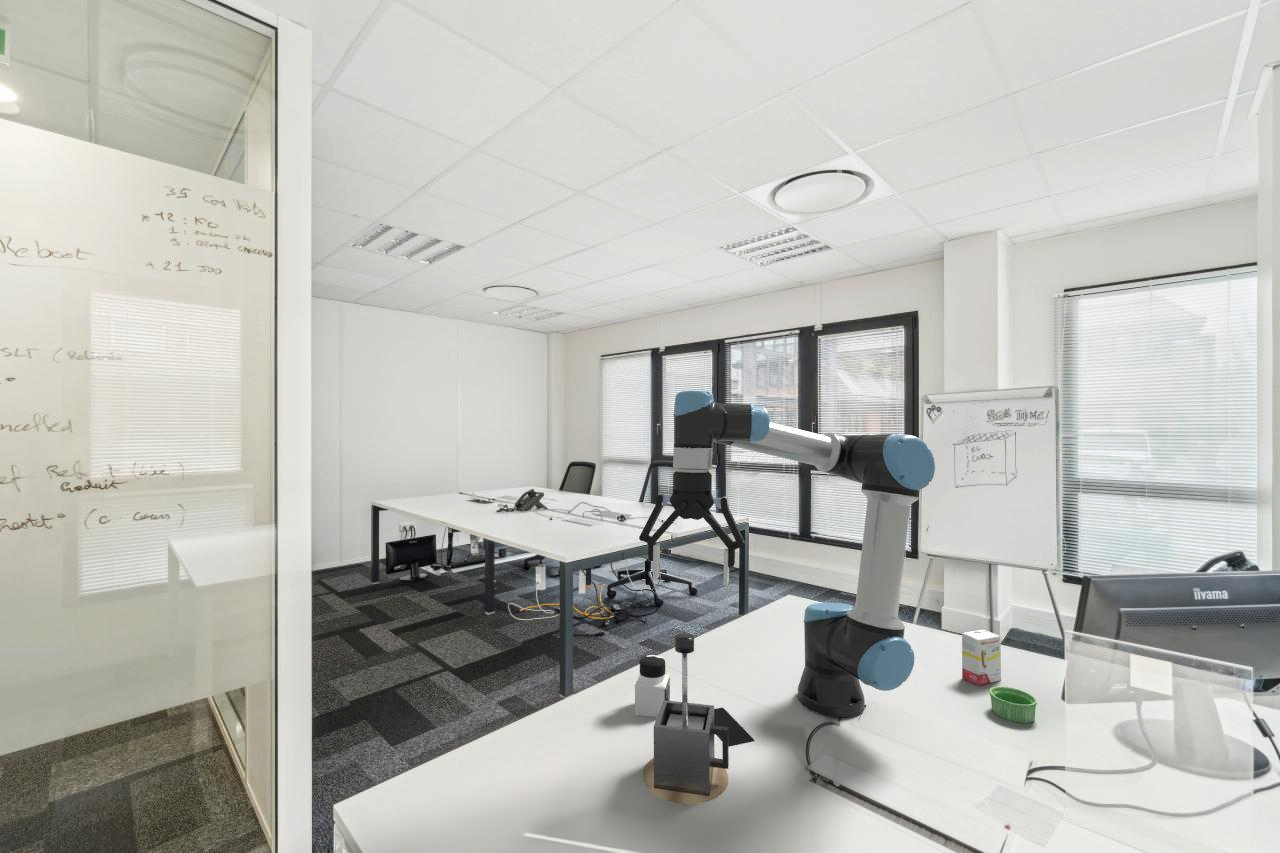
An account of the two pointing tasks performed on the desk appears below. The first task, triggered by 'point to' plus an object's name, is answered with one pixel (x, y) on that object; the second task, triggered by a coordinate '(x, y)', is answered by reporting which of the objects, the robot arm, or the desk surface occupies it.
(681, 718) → the plunger
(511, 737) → the desk surface
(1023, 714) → the ramekin
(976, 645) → the ink box
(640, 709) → the medicine bottle
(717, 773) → the coaster
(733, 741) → the smartphone
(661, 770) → the press body
